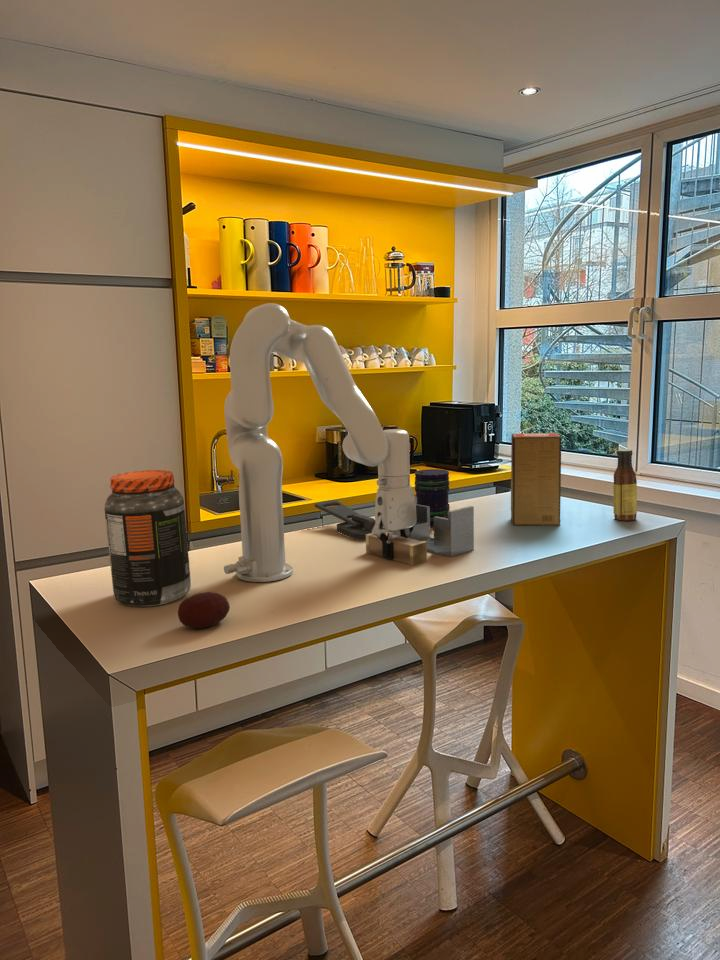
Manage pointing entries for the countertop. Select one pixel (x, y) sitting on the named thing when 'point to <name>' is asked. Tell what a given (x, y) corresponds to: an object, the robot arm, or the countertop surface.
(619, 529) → the countertop surface
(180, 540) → the supplement tub
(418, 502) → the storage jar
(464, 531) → the grey cradle stand
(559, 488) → the food packaging
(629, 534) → the countertop surface
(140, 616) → the countertop surface
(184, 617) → the potato
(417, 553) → the brown rectangular block
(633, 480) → the sauce bottle
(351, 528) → the zipper pull
